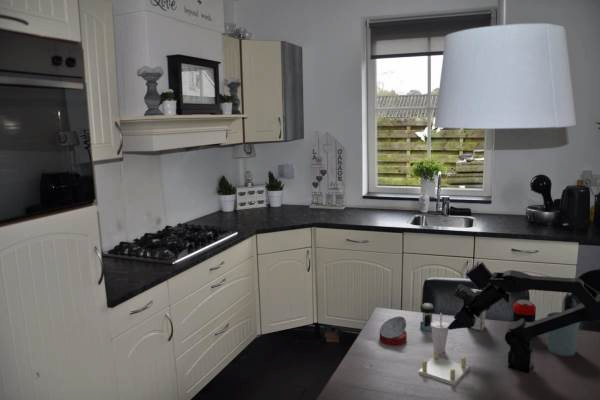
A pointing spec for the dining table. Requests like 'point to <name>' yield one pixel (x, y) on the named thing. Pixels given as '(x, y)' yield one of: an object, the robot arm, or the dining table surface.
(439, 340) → the smoothie
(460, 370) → the pin plate
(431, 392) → the dining table surface
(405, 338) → the canned food
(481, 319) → the syrup box
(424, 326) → the push button
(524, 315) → the soda can
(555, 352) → the teal cylindrical pot
